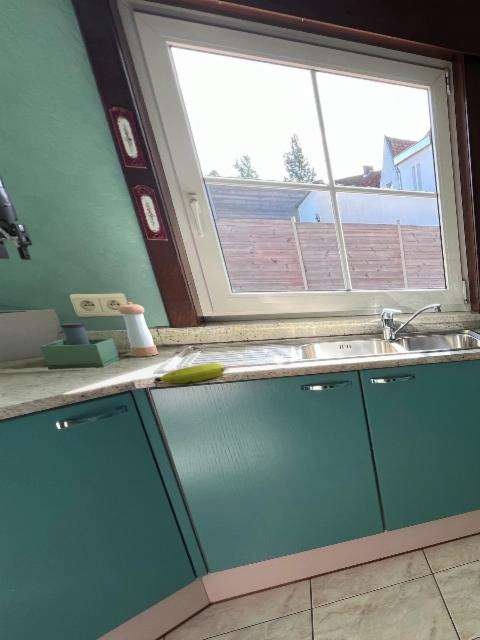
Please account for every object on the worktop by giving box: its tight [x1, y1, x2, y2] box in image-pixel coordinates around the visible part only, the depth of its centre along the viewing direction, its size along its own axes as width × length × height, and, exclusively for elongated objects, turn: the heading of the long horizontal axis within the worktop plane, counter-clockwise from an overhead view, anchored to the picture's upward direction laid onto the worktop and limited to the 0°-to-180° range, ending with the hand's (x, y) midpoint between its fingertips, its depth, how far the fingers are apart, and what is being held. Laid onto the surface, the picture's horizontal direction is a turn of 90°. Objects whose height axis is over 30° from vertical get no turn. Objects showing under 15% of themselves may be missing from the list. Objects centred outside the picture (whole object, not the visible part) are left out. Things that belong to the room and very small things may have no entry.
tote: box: [39, 337, 121, 371], centre depth 165 cm, size 14×14×8 cm
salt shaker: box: [118, 301, 159, 358], centre depth 179 cm, size 7×7×19 cm
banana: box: [154, 362, 226, 384], centre depth 154 cm, size 5×17×15 cm
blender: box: [59, 322, 90, 345], centre depth 164 cm, size 6×6×13 cm
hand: (15, 259), depth 156 cm, fingers open, 8 cm apart
